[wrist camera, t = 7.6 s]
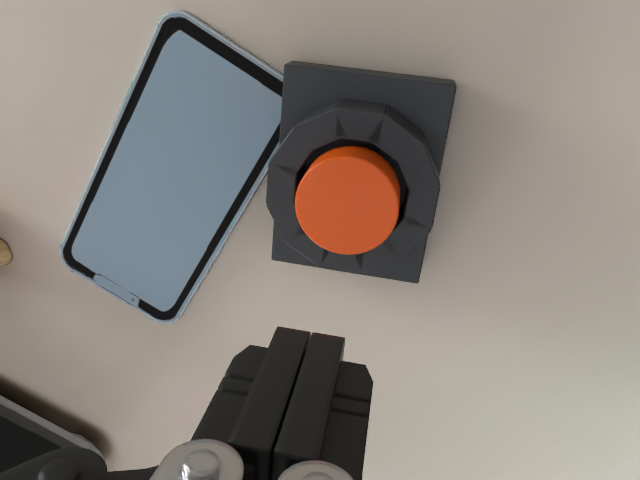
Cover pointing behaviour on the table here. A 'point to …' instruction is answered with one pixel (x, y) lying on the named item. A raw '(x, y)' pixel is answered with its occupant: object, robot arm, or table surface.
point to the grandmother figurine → (4, 253)
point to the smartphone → (175, 168)
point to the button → (348, 200)
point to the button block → (372, 133)
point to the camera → (31, 436)
